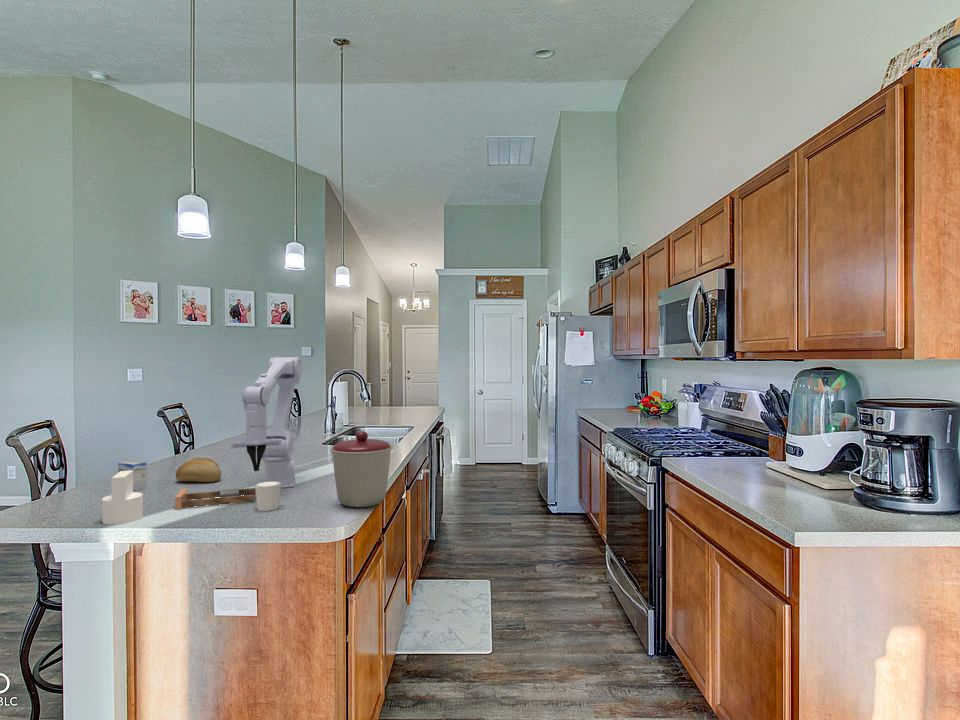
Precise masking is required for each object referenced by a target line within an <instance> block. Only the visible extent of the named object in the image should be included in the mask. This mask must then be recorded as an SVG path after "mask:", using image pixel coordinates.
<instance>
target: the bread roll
mask: <svg viewBox="0 0 960 720" xmlns="http://www.w3.org/2000/svg"><path fill="white" fill-rule="evenodd" d="M221 476H222V471H221V469H220V467H219V464H218V463H217V461H215V460H214V459H212V458H208V457H200V458H199V457H196V458H193V459H190V460H188V461H186V462H184V463H183V464H181V465H180V466H179V467H178V468H177V470H176V473H175V479H176V480H177V481H178V482H190V483H191V482H196V483H197V482H198V483H216V482H218V481H220V479H221ZM215 481H216V482H215Z"/></svg>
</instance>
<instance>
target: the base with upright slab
mask: <svg viewBox="0 0 960 720" xmlns="http://www.w3.org/2000/svg"><path fill="white" fill-rule="evenodd" d="M110 480H111V481H110V482H111V483H110V484H111V485H110V486H111V489H110V490H111V493H110V495H107V496H104V497H102V499H101V518H102V519H101V520H102V521H101V522H103V524H104V525H123V524H129V523H133V522H136V521H139V520H141V519H142V518H143V517H144V505H143V503H144V498H143V493H142V492H138V491H133V470H131V471H120V472H119V473H118V472H117V473H116V474H115V475H114V476H111V479H110ZM141 517H142V518H141ZM140 518H141V519H140ZM138 519H139V520H138ZM135 520H136V521H135Z"/></svg>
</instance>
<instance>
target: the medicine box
mask: <svg viewBox="0 0 960 720" xmlns="http://www.w3.org/2000/svg"><path fill="white" fill-rule="evenodd" d="M131 470H133V492H138V491H142V490H145V488H146V489H147V488H148V487H147V482H148V481H147V474H148V473H147V462H141V461H133V460H126V461H122V462H118V463H117V473H119V472H120V471H131ZM141 489H142V490H141ZM137 490H138V491H137Z"/></svg>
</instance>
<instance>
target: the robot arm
mask: <svg viewBox="0 0 960 720" xmlns="http://www.w3.org/2000/svg"><path fill="white" fill-rule="evenodd" d="M302 372H303V363H302V360H301V358H300V357H299V356H295V357H289V356H287V357H285V356H284V357H283V356H282V357H281V356H280V357H275V356H272V357H271V358H270V359H269V361H268V370H267V371H266V373H261V374H260V375H259V377H257V379H256V380H255V382H253V384H251V386H246V387H245V388H244V389H243V390H242V395H241V400H242V403H243V410H244V412H245V439H239V440H231V441H230V440H229V441H230V442H229V449H239V448H246V451H247V454H248V455H249V457H250V460H251V463H252V466H253V467H252V468H253V471H254V472H259V471H260V465H261V461H263V462H264V482H269V481H277V482H280V483H281V488H282V489H283V488H294V487H295V481H296V475H295V459H294V457H293V458H291V456H293V452H294V439H295V438H294V437H293V434H291V433H290V432H289V431H288V423H289V420H290V419H289V418H290V413H291V408H292V403H293V397H294V393H295V392H294V391H295V387H296V385H298V384H299V383H300V382H301V381H300V380H301V377H302ZM276 386H278V394H277V397H276V402H275V403H276V404H275V408H274V413H273V418H272V422H271V423H272V424H271V427H270V429H268V430H267V405H268V404H269V403H270V398H271V395H272V394H271V393H272V392H273V390H274V389H275V388H276ZM281 488H280V489H281Z"/></svg>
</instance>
